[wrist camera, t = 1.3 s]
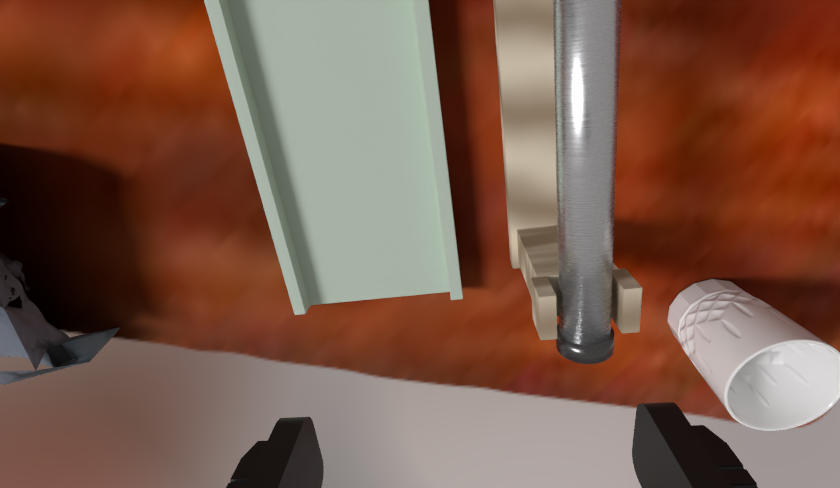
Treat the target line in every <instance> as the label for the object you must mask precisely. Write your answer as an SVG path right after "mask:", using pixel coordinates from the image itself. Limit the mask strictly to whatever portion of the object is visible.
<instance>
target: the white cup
mask: <svg viewBox="0 0 840 488" xmlns="http://www.w3.org/2000/svg"><path fill="white" fill-rule="evenodd" d="M667 322H668V324H669V326H670V328H671V331H672V333H673V335H674V336H675V337H676V339H677V340H678V341H679V343H680V344H681V345H682V348H683V349H684V351H685V353H686V354H687V355H688V357H689V358H690V360H691V361H692V363H693V364H694V366H695V367H696V368H697V370H698V371H699V373H700V374H701V375H702V377H703V378H704V379H705V381H706V382H707V383H708V385H709V386H710V387H711V389H712V390H713V392H714V393H715V394H716V396H717V397H718V398H719V400H720V401H721V402H722V404H723V405H724V407H725V408H726V409H727V411H728V412H729V413H730V415H731V416H732V417H733V418H734V419H735V420H736V421H738V422H739V423H741V424H743V425H745V426H747V427H750V428H753V429H758V430H766V431H775V430H776V431H777V430H785V429H790V428H794V427H798V426H801V425H803V424H806V423H808V422H810V421H812V420H814V419H816V418H818V417H819V416H821V415H823V414H824V413H825V412H827V411H828V410H829V409H830V408H831V407H832V406H833V405H834V404H835V403H836V402H837V401H838V400H839V399H840V352H839V351H838V350H836V349H835V348H834V347H832V346H831V345H829V344H828V343H826V342H824V341H823V340H821V339H820V338H818V337H817V336H815V335H814V334H812V333H811V332H809V331H808V330H806V329H805V328H803V327H802V326H800V325H799V324H797V323H796V322H794V321H793V320H791V319H790V318H788V317H787V316H785V315H784V314H782V313H781V312H779V311H778V310H776V309H775V308H773V307H772V306H770V305H768V304H767V303H765V302H763V301H762V300H760V299H759V298H756V297H753V296H752V295H750V294H748V293H747V292H745V291H743V290H742V289H741V288H739V287H738V286H736V285H735V284H733V283H732V282H730V281H724V280H717V279H710V280H706V281H701V282H697V283H694V284H692V285H691V286H689V287H688V288H686V289H685V290H683V291H682V292H680V293H679V294H678V295H677V297H676V298H675V300H674V301H673V302H672V304H671V305H670V307H669V313H668V320H667Z"/></svg>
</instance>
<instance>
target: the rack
mask: <svg viewBox="0 0 840 488" xmlns="http://www.w3.org/2000/svg"><path fill="white" fill-rule="evenodd" d="M493 3H494V18H495V33H496V48H497V63H498V79H499V94H500V109H501V124H502V140H503V155H504V170H505V185H506V200H507V216H508V231H509V246H510V261H511V264H512V267H513V269H514V268H521V270H522V273H523V276H524V278H525V281H526V284H527V287H528V289H529V292H530V295H531V297H532V312H533V320H534V323H535V326H536V329H537V332H538V335H539V337H540V340H549V339H557V316H559V289H558V240H557V190H556V140H555V91H554V41H553V0H493ZM641 298H642V287H641V286H640V285H639V284H638V282H637V281H636V280H635V279H634V278H633V277H632V276H631V274H630V273H629V272H628V271H627V270H626V269H618V268H617V267H616V265H615V264H614V263H613V273H612V304H611V317H612V319H613V320H614V322H615V323H616V325H617V326H618V328H619V330H620V331H621V333H633V332H639V330H640V314H641Z"/></svg>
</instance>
